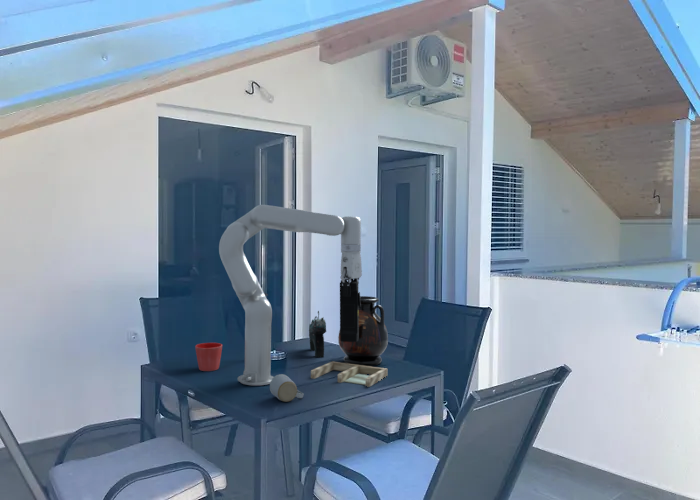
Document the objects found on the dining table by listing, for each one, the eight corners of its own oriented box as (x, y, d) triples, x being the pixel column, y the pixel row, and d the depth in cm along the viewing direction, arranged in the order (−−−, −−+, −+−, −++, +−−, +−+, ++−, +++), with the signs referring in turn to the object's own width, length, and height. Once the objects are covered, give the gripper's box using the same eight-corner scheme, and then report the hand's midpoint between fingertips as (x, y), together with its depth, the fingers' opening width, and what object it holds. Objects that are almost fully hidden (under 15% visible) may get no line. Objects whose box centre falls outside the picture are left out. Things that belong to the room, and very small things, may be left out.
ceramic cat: (326, 358, 253) (327, 313, 252) (312, 358, 251) (313, 313, 251) (319, 348, 272) (319, 307, 271) (305, 349, 271) (306, 307, 270)
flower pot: (189, 370, 226) (189, 346, 226) (204, 364, 236) (204, 341, 236) (213, 373, 223) (213, 348, 222) (227, 367, 233) (227, 343, 233)
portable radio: (361, 339, 223) (361, 275, 222) (359, 342, 217) (359, 276, 216) (341, 338, 223) (341, 275, 223) (339, 341, 217) (339, 276, 217)
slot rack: (369, 386, 207) (369, 378, 207) (310, 378, 218) (310, 370, 218) (387, 376, 223) (387, 368, 223) (332, 368, 234) (332, 361, 234)
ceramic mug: (277, 404, 185) (278, 380, 185) (268, 397, 192) (269, 374, 192) (307, 400, 190) (308, 377, 190) (297, 394, 197) (298, 372, 197)
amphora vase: (395, 360, 251) (396, 297, 250) (374, 370, 231) (376, 302, 230) (351, 354, 260) (353, 293, 259) (328, 364, 241) (329, 298, 240)
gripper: (350, 249, 209) (349, 298, 209) (368, 248, 225) (368, 293, 225) (331, 249, 212) (331, 297, 213) (351, 248, 228) (351, 292, 228)
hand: (350, 295), depth 219 cm, fingers closed on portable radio, 6 cm apart
